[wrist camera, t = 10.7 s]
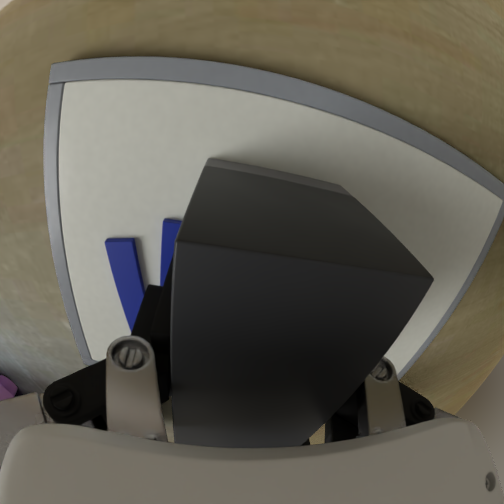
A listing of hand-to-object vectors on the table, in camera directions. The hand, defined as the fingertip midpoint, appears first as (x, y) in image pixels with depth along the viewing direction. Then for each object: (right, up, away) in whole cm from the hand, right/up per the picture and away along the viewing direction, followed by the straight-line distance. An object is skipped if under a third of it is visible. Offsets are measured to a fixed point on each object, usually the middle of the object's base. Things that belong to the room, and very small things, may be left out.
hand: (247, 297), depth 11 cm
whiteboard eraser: (0, 0, 0) cm, 0 cm away
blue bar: (-5, 0, 0) cm, 5 cm away
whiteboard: (+2, 0, +1) cm, 3 cm away
